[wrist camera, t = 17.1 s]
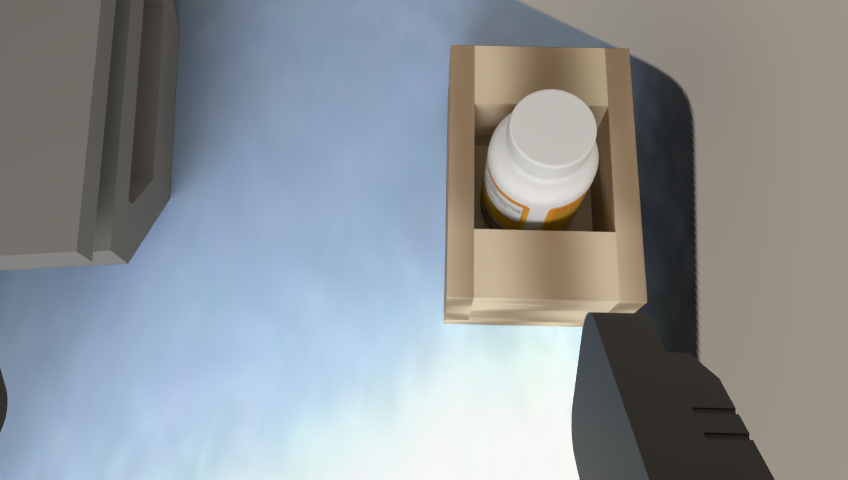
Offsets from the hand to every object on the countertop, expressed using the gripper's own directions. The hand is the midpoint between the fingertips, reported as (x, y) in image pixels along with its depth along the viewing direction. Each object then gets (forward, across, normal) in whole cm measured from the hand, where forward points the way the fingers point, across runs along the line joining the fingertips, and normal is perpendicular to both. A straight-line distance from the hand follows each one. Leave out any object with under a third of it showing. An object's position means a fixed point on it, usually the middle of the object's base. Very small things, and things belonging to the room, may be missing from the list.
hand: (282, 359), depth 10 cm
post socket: (+32, -8, +12) cm, 35 cm away
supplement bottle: (+31, -7, +11) cm, 34 cm away
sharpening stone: (+36, +18, +8) cm, 41 cm away
